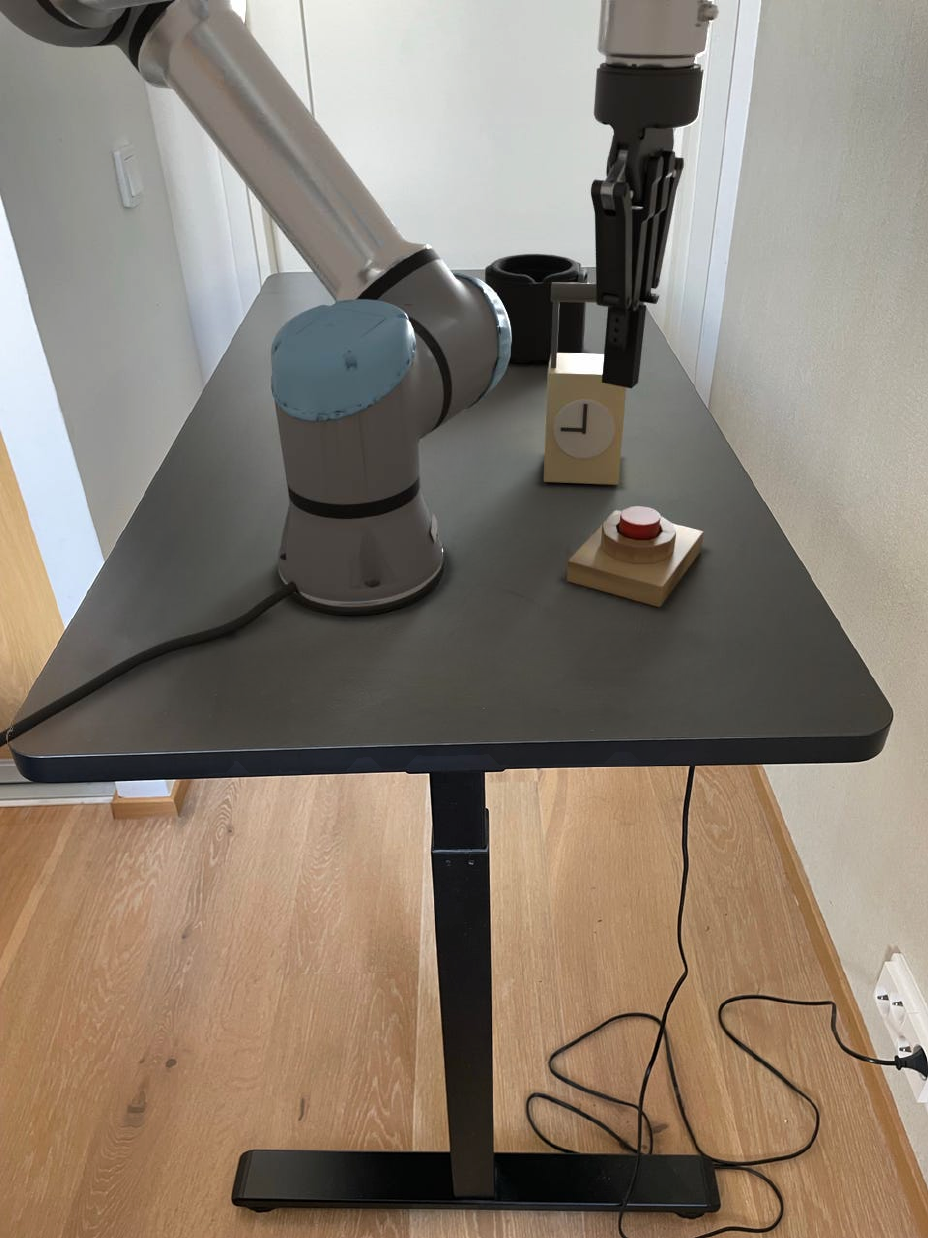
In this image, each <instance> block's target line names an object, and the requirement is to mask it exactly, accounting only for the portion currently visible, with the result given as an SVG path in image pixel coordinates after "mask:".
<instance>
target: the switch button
mask: <svg viewBox="0 0 928 1238" xmlns="http://www.w3.org/2000/svg"><path fill="white" fill-rule="evenodd" d="M660 516H661V514H660V513H659V512H658V511H657V510H655V509H654V508H651V507H647V506H642V505H641V506H640V505H639V506H638V505H637V506H629V507H626V508H624V509H623V510H622V512H621V514H620V524H619V533H620V534H621V535H622V536H624V537H626V538H630V539H634V540H651V539H654V538H656V537H657V536H658V534H659V527H660V519H661V517H662V516H661V517H660Z"/></svg>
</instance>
